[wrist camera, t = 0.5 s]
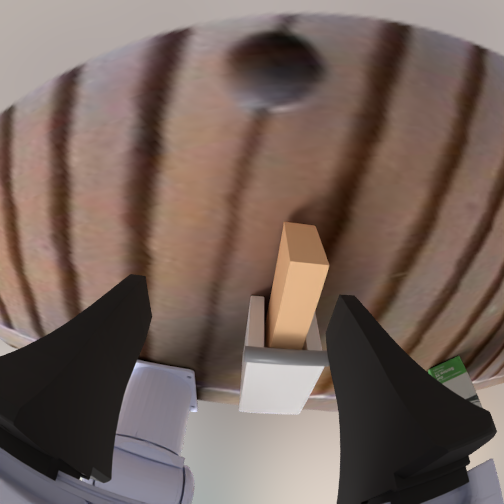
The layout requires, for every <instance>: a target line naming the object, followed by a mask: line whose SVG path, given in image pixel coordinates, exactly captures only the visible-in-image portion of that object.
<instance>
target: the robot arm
mask: <svg viewBox="0 0 504 504" xmlns="http://www.w3.org/2000/svg"><path fill="white" fill-rule="evenodd" d="M151 318H152V313H151V308H150V302H149V296H148V290H147V283H146V277H145V276H140V275H133V274H131V275H129V276H128V277H126V278H125V279H124V280H122V281H121V282H120V283H119V284H117V285H116V286H115V287H114V288H112V289H111V290H110V291H109V292H107V293H106V294H105V295H104V296H102V297H101V298H100V299H98V300H97V301H96V302H95V303H93V304H92V305H91V306H89V307H88V308H87V309H85V310H84V311H83V312H81V313H80V314H78V315H77V316H76V317H74V318H73V319H72V320H70V321H69V322H67V323H66V324H64V325H63V326H61V327H60V328H58V329H56V330H55V331H53V332H51V333H50V334H48V335H46V336H44V337H42V338H40V339H39V340H37V341H35V342H33V343H31V344H29V345H27V346H25V347H23V348H20V349H18V350H16V351H14V352H11V353H8V354H6V355H3V356H0V504H191V503H192V499H193V493H194V475H193V473H192V472H191V470H190V468H189V467H188V466H186V465H184V459H185V458H184V457H181V451H182V448H183V444H184V438H185V432H186V427H187V421H188V416H189V411H192V412H197V411H198V405H197V395H196V384H195V373H194V371H193V370H191V369H185V368H179V367H173V366H167V365H162V364H157V363H151V362H146V361H142V360H137V359H138V357H139V354H140V352H141V350H142V347H143V345H144V342H145V340H146V337H147V333H148V330H149V326H150V322H151ZM326 343H327V355H328V360H329V365H330V370H331V375H332V380H333V384H334V389H335V394H336V399H337V404H338V411H339V424H340V450H341V451H340V452H341V453H340V479H339V489H338V499H337V504H504V503H503V498H502V493H501V488H500V484H499V480H498V476H497V472H496V468H495V464H494V461H493V459H489V460H488V461H486V462H484V463H482V464H480V465H478V466H476V467H474V468H472V469H471V470H469V471H467V470H466V465H468V464H469V463H470V460H469V455H470V454H472V453H473V452H474V451H476V450H477V449H479V448H480V447H481V446H483V445H484V444H486V443H487V442H488V441H489V440H491V439H492V438H493V437H494V436H495V434H496V432H497V430H496V428H495V425H494V422H493V419H492V416H491V414H490V412H489V411H487V410H485V409H483V408H481V407H479V406H477V405H475V404H473V403H471V402H469V401H468V400H466V399H464V398H463V397H461V396H459V395H458V394H456V393H455V392H453V391H452V390H450V389H449V388H447V387H446V386H444V385H443V384H442V383H440V382H439V381H438V380H436V379H435V378H434V377H432V376H431V375H430V374H429V373H428V372H426V371H425V370H424V369H423V368H422V367H421V366H420V365H418V364H417V363H416V362H415V361H414V360H413V359H412V358H411V357H410V356H409V355H408V354H407V353H406V352H405V351H404V350H403V349H402V348H401V347H400V346H399V345H398V344H397V343H396V342H395V341H394V340H393V339H392V338H391V337H390V336H389V334H388V333H387V332H386V331H385V330H384V329H383V328H382V327H381V325H380V324H379V323H378V322H377V321H376V320H375V318H374V317H373V316H372V315H371V314H370V313H369V311H368V310H367V309H366V308H365V307H364V306H363V305H362V303H361V302H360V301H359V300H358V299H357V298H356V297H355V296H352V295H339V298H338V301H337V303H336V306H335V309H334V312H333V315H332V317H331V320H330V323H329V325H328V328H327V331H326ZM80 477H82V478H83V479H82V481H81V480H79V479H80Z"/></svg>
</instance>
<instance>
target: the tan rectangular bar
mask: <svg viewBox="0 0 504 504" xmlns="http://www.w3.org/2000/svg"><path fill="white" fill-rule="evenodd" d="M328 268H329V263H328V260H327V257H326V254H325V251H324V248H323V246H322V243H321V240H320V237H319V234H318V232H317V229H316V226H314V225H306V224H298V223H290V222H284V225H283V231H282V237H281V242H280V248H279V253H278V259H277V264H276V270H275V275H274V281H273V286H272V291H271V296H270V302H269V307H268V312H267V317H266V322H265V327H264V347H266V348H279V349H296V350H302V347H303V345H304V342H305V339H306V336H307V333H308V331H309V328H310V325H311V322H312V319H313V316H314V313H315V310H316V307H317V304H318V301H319V298H320V295H321V291H322V288H323V285H324V282H325V278H326V275H327V272H328Z"/></svg>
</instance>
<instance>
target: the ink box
mask: <svg viewBox="0 0 504 504" xmlns="http://www.w3.org/2000/svg"><path fill="white" fill-rule="evenodd" d="M428 373H429V374H430V375H431V376H432V377H434V378H435V379H436V380H438V381H439V382H440V383H442V384H443V385H444V386H446V387H447V388H449V389H450V390H452V391H453V392H455V393H456V394H458V395H459V396H461V397H463V398H464V399H466V400H468V401H469V402H471V403H473V404H475V405H477V406H479V407H481V408H482V406H481V403H480V401H479V398H478V396H477V393H476V391H475V388H474V386H473V384H472V381H471V379H470V377H469V375H468V372H467V370H466V368H465V366H464V364H463V362H462V360H461V358H460V356H457V357H455V358H453V359H451V360H448V361H446V362H444V363H442V364H440V365H438V366H436V367H433V368H431V369H429V370H428Z"/></svg>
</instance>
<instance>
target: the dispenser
mask: <svg viewBox="0 0 504 504" xmlns="http://www.w3.org/2000/svg"><path fill="white" fill-rule="evenodd" d="M324 366H329V360H328V355H327V351H322V345H321V340H320V335H319V329H318V324H317V319H316V314H315V313H314V316H313V319H312V322H311V325H310V328H309V331H308V333H307V336H306V339H305V342H304V345H303V347H302V350H296V349H279V348H266V347H264V297H262V296H252V295H251V299H250V306H249V313H248V320H247V328H246V335H245V342H244V349H243V360H242V373H241V387H240V401H239V412H251V413H267V414H300V412H301V410H302V408H303V406H304V405H305V403H306V401H307V399H308V397H309V395H310V394H311V392H312V390H313V388H314V386H315V384H316V382H317V380H318V378H319V376H320V374H321V372H322V370H323V368H324Z"/></svg>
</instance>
